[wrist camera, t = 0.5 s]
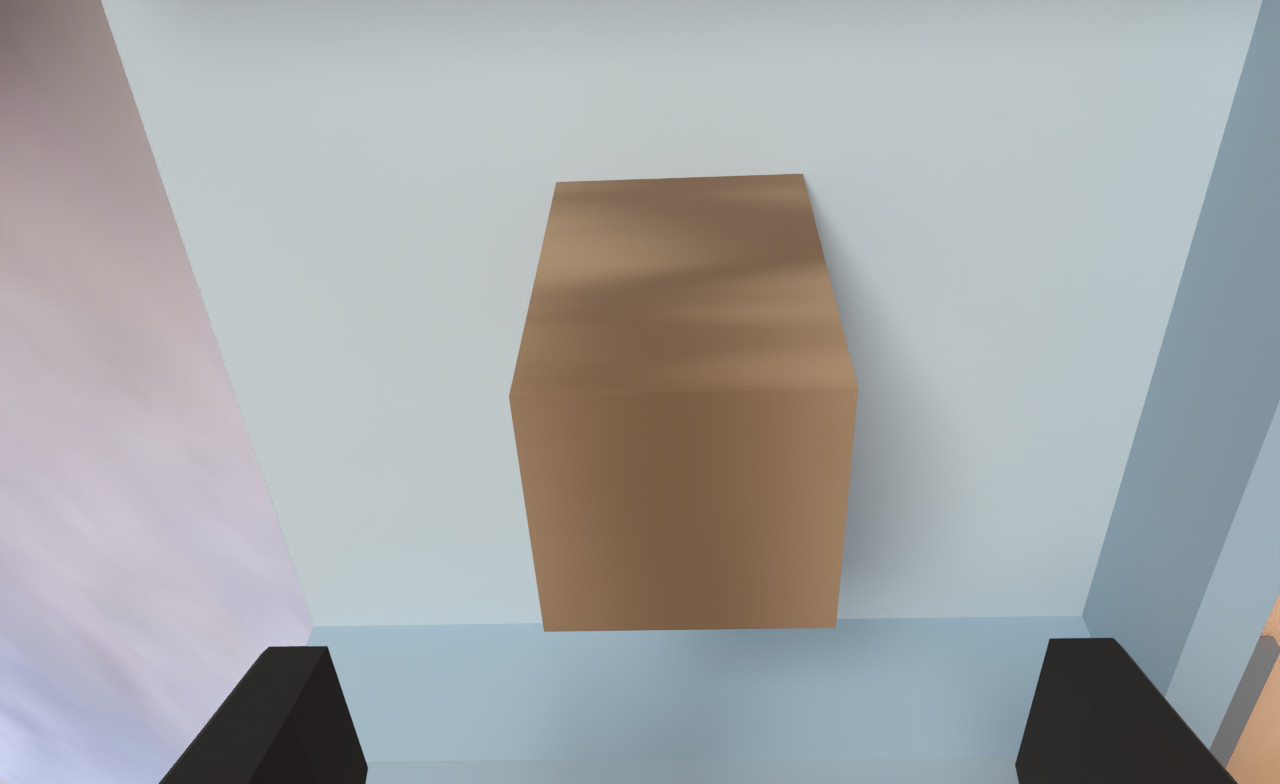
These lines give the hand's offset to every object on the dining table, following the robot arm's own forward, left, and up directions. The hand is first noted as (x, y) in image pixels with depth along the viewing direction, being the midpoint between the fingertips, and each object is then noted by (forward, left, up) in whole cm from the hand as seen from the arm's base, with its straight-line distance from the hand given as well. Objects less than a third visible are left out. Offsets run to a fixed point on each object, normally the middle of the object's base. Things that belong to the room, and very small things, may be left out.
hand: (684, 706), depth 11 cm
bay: (0, 0, -10) cm, 10 cm away
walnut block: (0, 0, -9) cm, 9 cm away
